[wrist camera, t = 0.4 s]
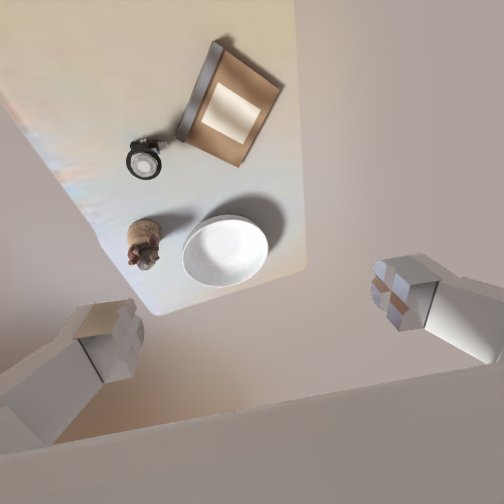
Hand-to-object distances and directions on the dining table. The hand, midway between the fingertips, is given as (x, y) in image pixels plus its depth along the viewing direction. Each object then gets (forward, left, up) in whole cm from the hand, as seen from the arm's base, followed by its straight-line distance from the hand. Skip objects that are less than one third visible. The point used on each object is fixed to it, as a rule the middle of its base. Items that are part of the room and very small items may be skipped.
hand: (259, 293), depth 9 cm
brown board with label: (0, +10, -49) cm, 49 cm away
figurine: (+31, +4, -49) cm, 58 cm away
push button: (+12, -1, -49) cm, 50 cm away
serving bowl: (+27, +22, -49) cm, 60 cm away
